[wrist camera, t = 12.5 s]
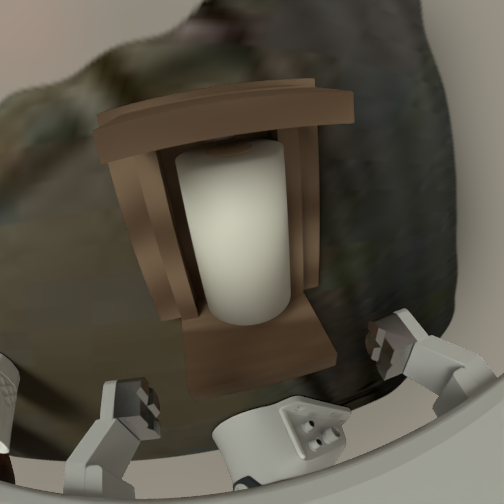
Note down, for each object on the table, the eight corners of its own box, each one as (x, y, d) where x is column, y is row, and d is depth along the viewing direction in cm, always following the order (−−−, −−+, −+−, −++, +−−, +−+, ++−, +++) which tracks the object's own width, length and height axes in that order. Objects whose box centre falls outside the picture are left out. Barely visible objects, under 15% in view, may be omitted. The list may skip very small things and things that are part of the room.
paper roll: (270, 263, 23) (305, 309, 19) (199, 284, 22) (220, 338, 17) (259, 131, 18) (303, 149, 13) (169, 149, 16) (182, 173, 12)
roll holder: (311, 275, 26) (362, 358, 18) (161, 308, 24) (164, 407, 17) (305, 78, 17) (395, 86, 10) (102, 111, 16) (39, 141, 8)
